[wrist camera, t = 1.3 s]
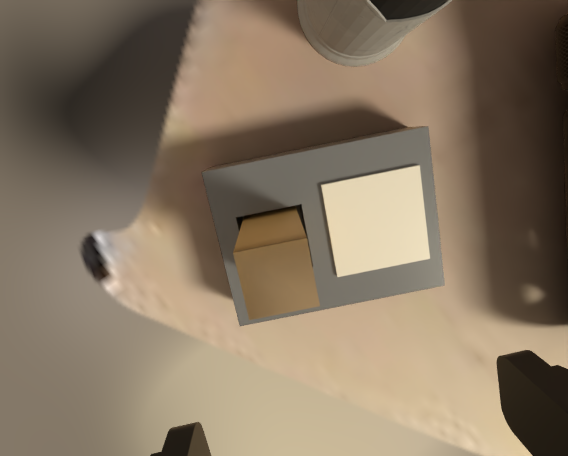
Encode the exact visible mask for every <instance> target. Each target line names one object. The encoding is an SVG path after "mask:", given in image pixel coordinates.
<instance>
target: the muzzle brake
mask: <svg viewBox="0 0 568 456" xmlns="http://www.w3.org/2000/svg"><path fill="white" fill-rule="evenodd" d="M555 32H556V61H557V81H558V82H560V83H562V89H563V90H567V91H568V14H566V15H564V16H563V17H562V18H561V19H560V21H559V23H558V25H557V27H556V30H555ZM563 129H564V161H565V193H566V225H567V257H568V109H567V110H566V111H565V113H564V116H563Z"/></svg>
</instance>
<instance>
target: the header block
mask: <svg viewBox="0 0 568 456" xmlns="http://www.w3.org/2000/svg"><path fill="white" fill-rule="evenodd" d="M202 176H203V180H204V184H205V188H206V192H207V196H208V200H209V204H210V208H211V212H212V216H213V220H214V224H215V228H216V233H217V237H218V241H219V245H220V249H221V253H222V257H223V261H224V265H225V269H226V273H227V277H228V281H229V285H230V289H231V293H232V297H233V301H234V305H235V309H236V313H237V317H238V321H239V325H240V326H244V325H249V324H254V323H259V322H264V321H269V320H274V319H279V318H284V317H289V316H294V315H299V314H304V313H309V312H314V311H319V310H324V309H329V308H334V307H339V306H344V305H349V304H354V303H359V302H364V301H369V300H374V299H379V298H384V297H389V296H394V295H399V294H404V293H409V292H414V291H419V290H424V289H429V288H434V287H439V286H444V285H445V282H444V272H443V263H442V253H441V244H440V234H439V224H438V215H437V205H436V195H435V186H434V176H433V167H432V157H431V147H430V138H429V128H428V126H421V127H406V128H401V129H396V130H391V131H387V132H382V133H377V134H372V135H367V136H362V137H357V138H352V139H347V140H342V141H337V142H333V143H328V144H323V145H318V146H313V147H308V148H303V149H298V150H293V151H288V152H283V153H279V154H274V155H269V156H264V157H259V158H254V159H249V160H244V161H239V162H234V163H229V164H225V165H220V166H215V167H210V168H208V169H206V170H205V171H203V172H202ZM290 206H296V209H297V212H298V215H299V217H300V220H301V223H302V226H303V228H304V231H305V234H306V237H307V241H308V246H309V251H310V256H311V262H312V267H313V272H314V277H315V283H316V288H317V293H318V298H319V303H320V306H318V307H313V308H308V309H303V310H298V311H293V312H288V313H283V314H278V315H273V316H268V317H263V318H258V319H253V320H249V317H248V313H247V308H246V304H245V300H244V296H243V292H242V288H241V284H240V279H239V275H238V271H237V267H236V263H235V259H234V255H233V251H234V248H235V245H236V241H237V238H238V235H239V231H240V228H241V225H242V221H243V218H244V216H245V215H250V214H255V213H260V212H265V211H270V210H275V209H280V208H285V207H290Z"/></svg>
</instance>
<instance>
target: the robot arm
mask: <svg viewBox="0 0 568 456" xmlns="http://www.w3.org/2000/svg"><path fill="white" fill-rule="evenodd" d="M497 372H498V381H499V390H500V400H501V408H502V412H503V415H504V417H505V420H506V422H507V424H508V426H509V427H510V429H511V430H512V432H513V433H514V434H515V435H516V437H517V438H518V439H519V440H520V441H521V442H522V444H523V445H524V446H525V447H526V448H527V450H528V451H529V452H530V453H531V454H532V455H533V456H568V369H566V368H564V367H561V366H559V365H556V366H550V365H549V364H547V363H546V362H545V361H544V360H542V359H541V358H540V357H539V356H537V355H536V354H535V353H533V352H532V351H530V350H524V351H520V352H515V353H511V354H506V355H502V356H499V357H498V358H497ZM150 456H211V453H210V450H209V447H208V444H207V441H206V437H205V434H204V431H203V428H202V425H201V424H200V423H199V422H196V423H192V424H187V425H183V426H178V427H173V428H171V429H170V430H169V431H168V434H167V437H166V440H165V443H164V446H163V449H162V452H158V453H154V454H151V455H150Z"/></svg>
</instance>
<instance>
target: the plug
mask: <svg viewBox="0 0 568 456" xmlns="http://www.w3.org/2000/svg"><path fill="white" fill-rule="evenodd" d="M233 255H234V259H235V263H236V267H237V271H238V275H239V279H240V284H241V288H242V292H243V296H244V300H245V304H246V308H247V313H248V317H249V320H253V319H258V318H263V317H268V316H273V315H278V314H283V313H288V312H293V311H298V310H303V309H308V308H313V307H318V306H320V303H319V298H318V293H317V288H316V283H315V277H314V272H313V267H312V262H311V256H310V251H309V246H308V241H307V237H306V234H305V231H304V228H303V226H302V223H301V220H300V217H299V215H298V212H297V209H296V206H290V207H285V208H280V209H275V210H270V211H265V212H260V213H255V214H250V215H245V216H244V218H243V221H242V225H241V228H240V231H239V235H238V238H237V241H236V245H235V248H234V251H233Z"/></svg>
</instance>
